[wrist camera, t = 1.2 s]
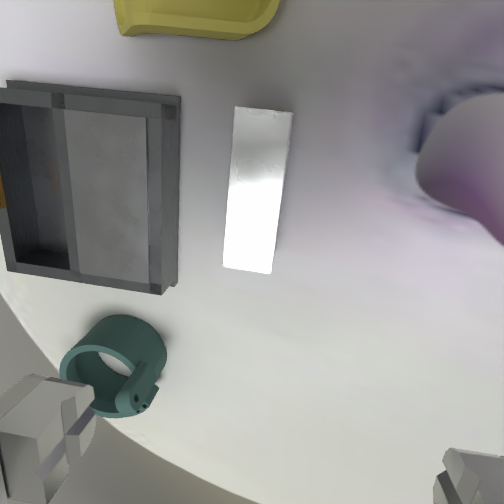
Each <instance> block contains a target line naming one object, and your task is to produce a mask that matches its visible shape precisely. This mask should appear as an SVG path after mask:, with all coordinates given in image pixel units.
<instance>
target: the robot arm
mask: <svg viewBox="0 0 504 504" xmlns="http://www.w3.org/2000/svg"><path fill="white" fill-rule="evenodd" d="M94 399H95V398H94V390H93V387H92V386H90V385H88V384H83V383H78V382H73V381H68V380H63V379H57V378H53V377H46V376H41V375H36V374H30V375H27V376H25V377H23V378H22V379H21V380H19V381H18V382H17V383H16V384H14V385H13V386H12V387H11V388H10V389H8V391H6V392H5V393H4V394H2V395H1V396H0V504H5V503H7V501H8V499H11V500H17V501H22V502H28V503H33V504H48V503H49V502H50V500H51V499H52V498H53V496H54V495H55V493H56V492H57V491H58V489H59V488H60V486H61V485H62V483H63V482H64V481H65V479H66V478H67V476H68V465H69V464H70V463H72V462H74V461H75V460H77V459H79V458H80V457H81V456H82V455H83V453H84V452H85V451H86V449H87V448H88V446H89V444H90V442H91V439H92V437H93V434H94V432H95V426H96V413H95V412H94V410H93V409H92V408H91V407H90V404H91V402H92V401H93V400H94ZM442 461H443V463H444V466H445V468H446V470H445V471H444V472H442V473H441V474H439V475H437V477H436V480H435V483H434V487H433V503H434V504H504V456H498V455H493V454H487V453H481V452H475V451H468V450H462V449H456V448H449V449H448V450H447V451H446V452H445V455H444V457H443V460H442Z"/></svg>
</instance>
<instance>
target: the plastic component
mask: <svg viewBox="0 0 504 504" xmlns="http://www.w3.org/2000/svg"><path fill="white" fill-rule="evenodd" d="M279 2H280V0H114V8H115V14H116V19H117V24H118V28H119V31H120V34H121V35H122V36H131V37H133V36H136V35H137V34H140V33H162V34H173V35H184V36H195V37H205V38H216V39H227V40H239V39H243V38H245V37H247V36H249V35H251V34H253V33H255V32H257V31H259V30H260V29H262V28H264V27H265V26H266V25H267V24H268V23H269V22H270V21H271V19H272V18H273V16H274V15H275V13H276V11H277V8H278V6H279Z"/></svg>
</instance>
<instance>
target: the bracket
mask: <svg viewBox="0 0 504 504" xmlns="http://www.w3.org/2000/svg"><path fill="white" fill-rule="evenodd" d="M97 351H98V352H103V353H106V354H109V355H111V356H113V357H116V358H117V359H119V360H120V361H122V362H123V363H124V364H125V365H126V366H127V367H128V368H129V369H130V370H131V371H132V374H131V376H130V377H126V376H123V375H121V374H118V373H117V372H115V371H113V370H112V369H111V368H109V367H108V366H107V365H106V364H105V363H104V362H103V360H102V359H101V357H100V356H99V354H98V352H97ZM166 360H167V351H166V347H165V345H164V343H163V341H162V339H161V337H160V335H159V333H158V332H157V331H156V330H155V329H154V328H153V327H152V326H151V325H149V324H148V323H146V322H145V321H143V320H141V319H139V318H137V317H134V316H130V315H122V314H121V315H113V316H109V317H107V318H105V319H103V320H102V321H101V322H99V323H98V324H97V325H96V326H95V327H94V328H93V329H92V330H91V331H90V332H89V333H88V334H87V335H86V336H85V337H83V338H82V339H81V340H80V341H79V342H78V343H77V344H76V345H75V346H74V347H73V348H72V349H71V350H70V351H69V352H68V353H67V354H66V355H65V356H64V357H63V359H62V361H61V364H60V378H61V379H63V380H68V381H73V382H78V383H83V384H88V385H90V386H92V387H93V390H94V398H95V399H94V400H93V401H92V402H91V404H90V407H91V408H92V409H93V410H94V412H95V413H96V415H98V416H101V417H106V418H123V417H130V416H134V415H138V414H140V413H142V412H144V411H145V410H146V409H147V408H148V407H149V406H150V404H151V402H152V401H153V399H154V397H155V395H156V393H157V392H158V390H159V387H157V386H156V385H155V382H156V380H157V378H158V377H159V375H160V373H161V371H162V370H163V368H164V366H165V364H166Z"/></svg>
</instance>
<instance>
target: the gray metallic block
mask: <svg viewBox="0 0 504 504" xmlns="http://www.w3.org/2000/svg"><path fill="white" fill-rule="evenodd" d="M293 118H294V115H293V113H292V112H285V111H275V110H266V109H256V108H247V107H237V106H235V111H234V124H233V137H232V151H231V164H230V177H229V190H228V204H227V217H226V230H225V243H224V256H223V267H228V268H234V269H241V270H248V271H254V272H261V273H268V274H271V269H272V265H273V260H274V255H275V250H276V243H277V235H278V228H279V221H280V213H281V206H282V199H283V191H284V184H285V176H286V169H287V162H288V154H289V147H290V140H291V132H292V125H293Z"/></svg>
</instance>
